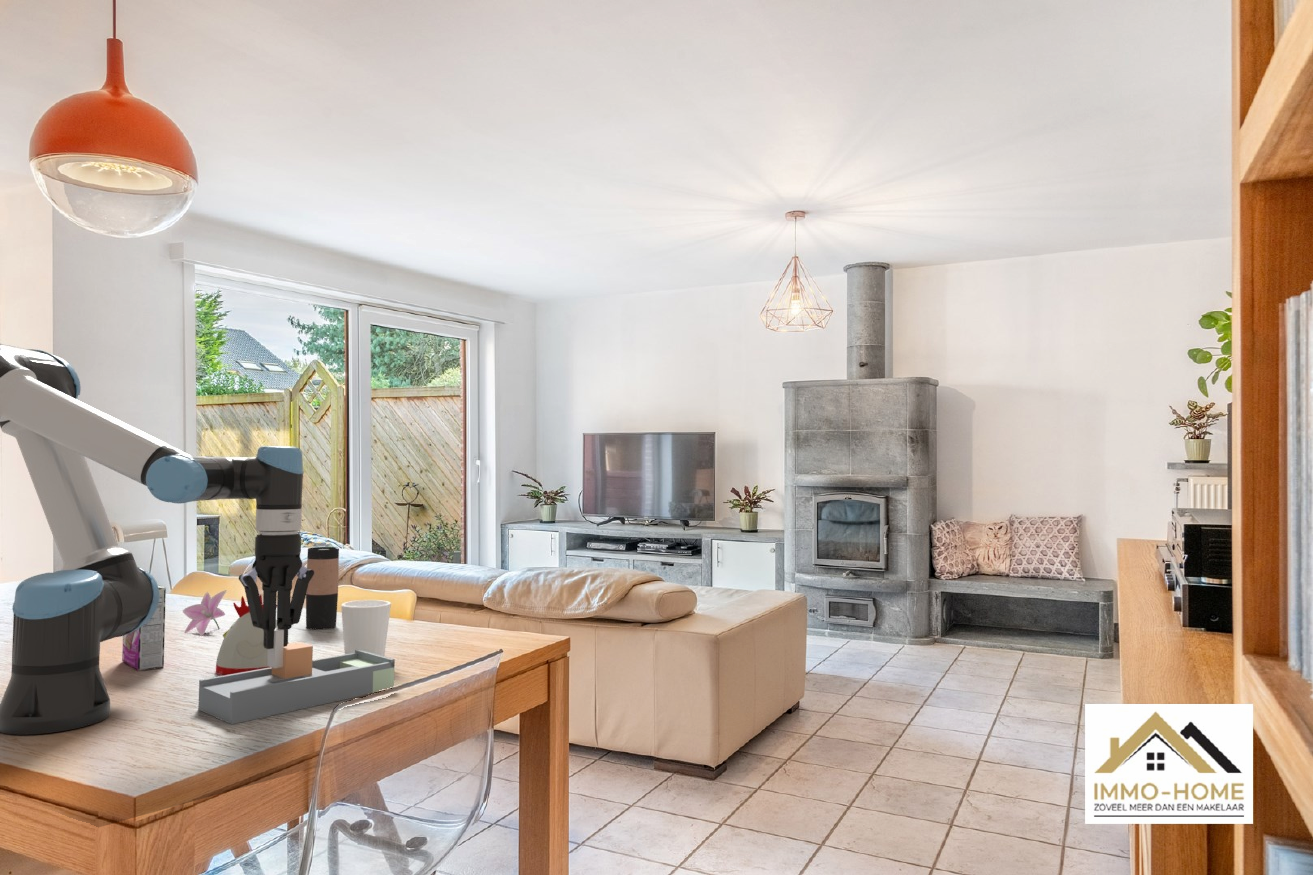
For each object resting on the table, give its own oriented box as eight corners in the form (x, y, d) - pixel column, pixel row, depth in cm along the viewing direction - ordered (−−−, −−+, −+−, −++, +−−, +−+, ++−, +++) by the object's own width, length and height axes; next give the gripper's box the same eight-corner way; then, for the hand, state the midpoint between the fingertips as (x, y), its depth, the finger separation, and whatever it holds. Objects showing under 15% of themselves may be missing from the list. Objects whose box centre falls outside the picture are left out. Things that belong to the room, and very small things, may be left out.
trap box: (231, 724, 138) (232, 689, 138) (198, 709, 146) (199, 676, 146) (393, 688, 161) (394, 659, 161) (357, 677, 169) (358, 649, 169)
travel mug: (298, 628, 216) (301, 549, 217) (315, 623, 224) (317, 546, 224) (326, 630, 215) (329, 550, 216) (342, 624, 223) (345, 547, 223)
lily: (182, 632, 215) (169, 602, 211) (230, 610, 222) (218, 580, 217) (196, 655, 207) (183, 623, 202) (246, 631, 213) (234, 600, 209)
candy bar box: (119, 662, 178) (122, 582, 179) (146, 658, 182) (149, 580, 182) (137, 671, 171) (140, 588, 171) (164, 667, 174) (167, 586, 175)
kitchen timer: (219, 663, 179) (222, 591, 179) (291, 659, 184) (293, 588, 185) (212, 679, 166) (215, 601, 167) (290, 674, 171) (292, 598, 172)
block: (285, 678, 151) (285, 650, 152) (271, 674, 155) (272, 646, 155) (311, 673, 155) (312, 645, 155) (298, 669, 158) (299, 641, 159)
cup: (330, 664, 180) (332, 602, 180) (374, 656, 187) (375, 598, 187) (354, 672, 173) (356, 608, 173) (398, 664, 180) (399, 603, 181)
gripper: (251, 536, 146) (248, 676, 145) (323, 532, 156) (320, 663, 155) (231, 533, 151) (228, 669, 150) (302, 529, 161) (299, 657, 160)
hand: (275, 666), depth 152 cm, fingers closed
